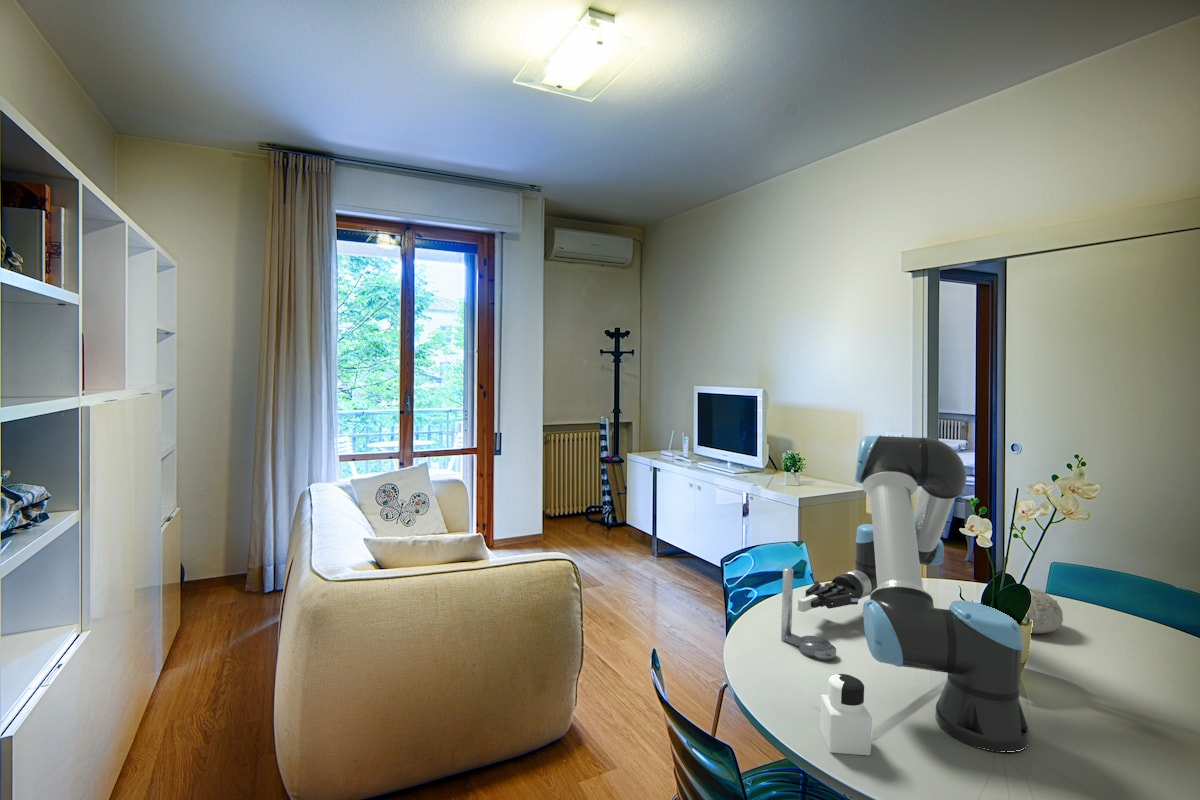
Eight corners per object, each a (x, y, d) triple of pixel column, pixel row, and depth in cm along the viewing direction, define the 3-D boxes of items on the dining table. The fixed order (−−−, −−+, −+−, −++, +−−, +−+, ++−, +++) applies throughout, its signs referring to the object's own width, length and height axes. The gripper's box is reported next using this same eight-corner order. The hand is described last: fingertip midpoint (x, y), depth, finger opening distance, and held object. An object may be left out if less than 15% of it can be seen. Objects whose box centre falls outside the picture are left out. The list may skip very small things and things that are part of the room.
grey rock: (979, 627, 162) (980, 591, 161) (985, 607, 176) (986, 574, 176) (1062, 646, 151) (1064, 607, 151) (1061, 623, 165) (1063, 588, 165)
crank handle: (842, 656, 141) (844, 581, 140) (825, 664, 137) (828, 587, 136) (790, 634, 152) (792, 565, 151) (773, 642, 148) (775, 570, 147)
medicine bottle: (858, 732, 113) (860, 670, 113) (871, 756, 106) (873, 690, 106) (819, 729, 114) (821, 668, 114) (829, 753, 107) (831, 688, 106)
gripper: (872, 607, 161) (823, 629, 147) (828, 593, 172) (778, 612, 157) (873, 580, 161) (824, 599, 147) (829, 567, 171) (779, 584, 157)
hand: (800, 606), depth 152 cm, fingers closed
